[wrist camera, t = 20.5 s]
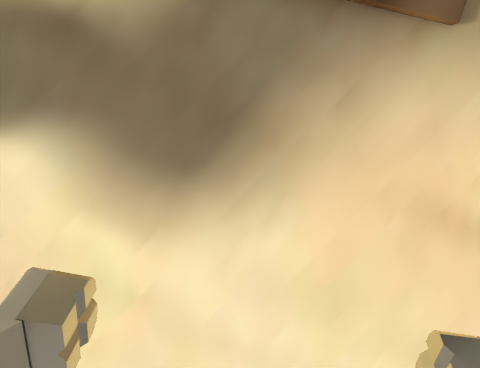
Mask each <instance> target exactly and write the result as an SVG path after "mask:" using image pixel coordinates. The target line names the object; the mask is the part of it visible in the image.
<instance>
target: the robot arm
mask: <svg viewBox="0 0 480 368" xmlns="http://www.w3.org/2000/svg"><path fill="white" fill-rule="evenodd" d="M95 291H96V282H95V279H94V278H92V277H87V276H82V275H76V274H71V273H65V272H60V271H54V270H53V271H52V270H46V269H41V268H35V267H32V268H30V269H29V270H27V271H26V272H25V274H24V275H23V276H22V277H21V279H20V280H19V281H18V283H17V284H16V285H15V286H14V288H13V289H12V290H11V292H10V293H9V294H8V295H7V297H6V298H5V299H4V301H3V302H2V303H1V304H0V368H76V366H77V364H78V362H79V360H80V358H81V355H80V347H81V346H83V345H84V344H86V343H88V342H89V339H90V337H91V335H92V333H93V330H94V327H95V323H96V319H97V303H96V301H95V300H94V299H93V298H92V297H93V295H94V293H95ZM426 343H427V346H428V350H426V351H424V352H422V353H421V354H420V355H419V358H418V360H417V362H416V368H480V337H478V336H477V337H475V336H470V335H463V334H456V333H450V332H443V331H436V330H434V331H432V332H431V333H430V334H429V336H428V338H427V340H426Z"/></svg>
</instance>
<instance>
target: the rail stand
mask: <svg viewBox="0 0 480 368" xmlns="http://www.w3.org/2000/svg"><path fill="white" fill-rule="evenodd" d="M349 1H353V2H357V3H361V4H365V5H369V6H374V7H378V8H382V9H386V10H390V11H394V12H399V13H403V14H407V15H411V16H415V17H419V18H424V19H428V20H432V21H436V22H440V23H444V24H449V25H453V24H456V23H458V22H459V21H460V18H461V15H462V12H463V9H464V6H465V3H466V0H349Z"/></svg>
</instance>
